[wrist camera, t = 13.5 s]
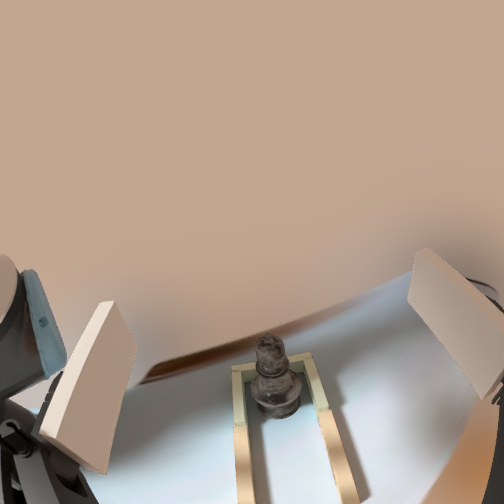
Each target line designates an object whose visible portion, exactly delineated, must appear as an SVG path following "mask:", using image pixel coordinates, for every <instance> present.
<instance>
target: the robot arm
mask: <svg viewBox="0 0 504 504" xmlns="http://www.w3.org/2000/svg"><path fill="white" fill-rule="evenodd" d="M407 301H408V302H409V304H410V305H411V306H412V307H413V308H414V310H415V311H416V312H417V313H418V314H419V316H420V317H421V318H422V319H423V321H424V322H425V323H426V324H427V326H428V327H429V328H430V329H431V331H432V332H433V333H434V334H435V336H436V337H437V338H438V339H439V341H440V342H441V343H442V345H443V346H444V347H445V349H446V350H447V351H448V353H449V354H450V355H451V357H452V358H453V359H454V361H455V362H456V364H457V365H458V366H459V368H460V369H461V371H462V372H463V373H464V375H465V376H466V378H467V379H468V381H469V382H470V384H471V385H472V387H473V388H474V390H475V391H476V393H477V394H478V396H479V397H480V399H481V400H482V399H484V398H485V397H486V396H488V395H489V394H491V393H492V392H493V391H494V390H495V389H496V387H497V386H498V385H499V383H500V382H502V383H503V386H502V387H501V389H500V390H499V392H498V393H497V394H496V395H495V397H494V398H493V400H492V404H494V403H495V402H496V400H497V399H498V398H499V397H500V399H499V401H498V402H497V405H500V409H499V422H498V431H497V439H496V446H495V452H494V457H493V462H492V467H491V472H490V476H489V480H488V484H487V488H486V491H485V495H484V498H483V501H482V504H504V310H503V309H502V307H501V306H500V305H499V304H498V303H497V302H496V301H495V300H493V299H491V298H489V297H488V296H486V295H483V294H482V293H481V292H480V291H479V290H478V289H477V288H476V287H475V286H474V285H472V284H471V283H470V282H469V281H468V280H467V279H466V278H464V277H463V276H462V275H461V274H460V273H459V272H457V271H456V270H455V269H454V268H453V267H451V266H450V265H449V264H448V263H446V262H445V261H444V260H443V259H441V258H440V257H439V256H438V255H436V254H435V253H434V252H433V251H431V250H430V249H429V248H425V249H420V250H416V252H415V259H414V266H413V271H412V277H411V282H410V287H409V292H408V297H407ZM137 349H138V346H137V345H136V343H135V341H134V339H133V337H132V335H131V333H130V332H129V329H128V327H127V325H126V323H125V321H124V319H123V317H122V315H121V313H120V311H119V309H118V307H117V305H116V302H115V301H108V302H101V303H100V304H99V306H98V308H97V309H96V311H95V313H94V315H93V316H92V318H91V320H90V322H89V324H88V326H87V327H86V329H85V331H84V333H83V335H82V336H81V338H80V340H79V342H78V344H77V346H76V348H75V350H74V352H73V354H72V356H71V358H70V360H69V362H68V364H67V366H66V369H65V371H61V372H60V373H59V374H58V376H57V377H56V378H55V379H54V380H53V382H52V384H51V386H50V388H49V393H47V395H46V397H45V402H43V404H42V407H41V409H40V412H39V414H38V417H36V416H35V415H34V414H33V413H32V412H31V411H29V410H27V409H26V408H24V407H22V406H20V405H18V404H17V403H15V402H13V401H12V400H10V399H9V397H11V396H14V395H16V394H18V393H20V392H22V391H24V390H26V389H27V388H30V387H32V386H34V385H36V384H38V383H40V382H42V381H44V380H48V379H49V377H50V376H51V375H53V374H55V373H56V372H58V371H59V370H61V369H62V368H63V367H64V366H65V365H66V362H67V353H66V349H65V346H64V343H63V340H62V337H61V335H60V332H59V329H58V327H57V324H56V321H55V319H54V316H53V313H52V310H51V308H50V305H49V302H48V300H47V297H46V294H45V292H44V289H43V287H42V284H41V281H40V279H39V277H38V275H37V273H36V272H35V271H34V270H33V269H29V270H26V269H24V270H23V272H22V273H21V274H19V272H18V270H17V269H16V267H15V265H14V263H13V261H12V260H11V259H10V258H9V257H8V256H6V255H4V254H0V504H99V503H98V501H97V500H96V498H95V496H94V494H93V493H92V491H91V489H90V487H89V485H88V483H87V481H86V479H85V477H84V475H83V474H82V473H81V471H80V470H79V466H80V465H81V466H83V467H84V468H86V469H87V470H89V471H92V472H96V473H100V474H105V475H107V469H108V464H109V459H110V453H111V449H112V444H113V439H114V435H115V430H116V426H117V421H118V417H119V413H120V409H121V405H122V401H123V397H124V394H125V390H126V386H127V383H128V379H129V375H130V372H131V369H132V365H133V362H134V359H135V355H136V352H137ZM17 489H18V490H17Z"/></svg>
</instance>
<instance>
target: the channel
mask: <svg viewBox="0 0 504 504" xmlns="http://www.w3.org/2000/svg"><path fill="white" fill-rule="evenodd" d="M318 422H319V425H320V429H321V432H322V436H323V439H324V443H325V446H326V450H327V454H328V457H329V461H330V465H331V468H332V472H333V476H334V479H335V483H336V487H337V490H338V494H339V498H340V502H341V504H360V500H359V497H358V493H357V490H356V487H355V483H354V480H353V477H352V474H351V470H350V467H349V464H348V461H347V458H346V454H345V451H344V448H343V445H342V442H341V439H340V436H339V432H338V429H337V426H336V423H335V420H334V417H333V414H332V411H331V409H329V410H326V411H322V412H318ZM233 434H234V451H235V467H236V482H237V496H238V504H256V498H255V489H254V479H253V470H252V460H251V450H250V439H249V430H248V428H247V425H246V426H238V427H233Z"/></svg>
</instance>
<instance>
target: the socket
mask: <svg viewBox="0 0 504 504" xmlns="http://www.w3.org/2000/svg"><path fill="white" fill-rule="evenodd" d="M286 357H287V358H288V359H289V362H290V368H289V369H291V370H293V371H295V372H296V373H300V372H304V374H305V377H306V380H307V384H308V387H309V391H310V394H311V398H312V401H313V405H314V408H315V412H316V415H317V418H318V412H322V411H326V410H328V407H329V405H328V402H327V399H326V396H325V393H324V390H323V387H322V384H321V381H320V378H319V375H318V372H317V369H316V366H315V363H314V360H313V357H312V355H311V352H306V353H301V354H296V355H291V356H286ZM231 372H232V396H233V416H234V424H235V426H236V427H238V426H246V425H247V428H248V419H247V408H246V397H245V385H244V382H251V381H252V380H253V379H254V378H255V376H256V375H258V373H257V371H256V362H252V363H246V364H239V365H232V366H231Z"/></svg>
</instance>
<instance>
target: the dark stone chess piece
mask: <svg viewBox="0 0 504 504" xmlns="http://www.w3.org/2000/svg"><path fill="white" fill-rule="evenodd" d="M255 351H256V355H257V360H258V361H257V362H256V371H257V373H258V375H256V376H255V378H254V379H253V380H252V383H251V388H250V391H251V394H252V396H253V398H254V399H255V400H256V401H257V406H258V409H259V411H260V412H261V413H262V414H263V415H264V416H266V417H268V418H271V419H283V418H286V417H289V416H291V415H292V414H294V413H295V412H296V411H297V409H298V407H299V405H300V396H299V394H300V392H301V389H302V380H301V378H300V376H299V375H298V374H297V373H296V372H295V371H293V370H291V369H289V368H290V362H289V359H288V358H287V357H286V356H285V349H284V344H283V342H282V340H281V339H280V338H278V337H276V336H273V335H270V334H268V333H267V334H266V335H265V336H264V337H262V338H260V339H259V340H258V341H257V343H256V346H255Z"/></svg>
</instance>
